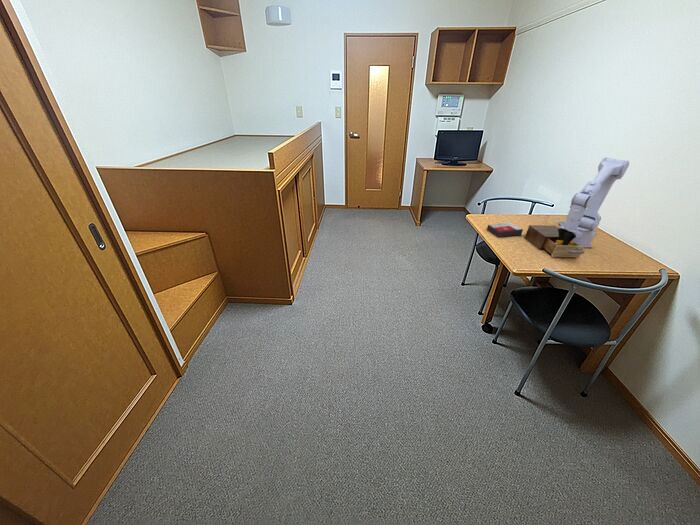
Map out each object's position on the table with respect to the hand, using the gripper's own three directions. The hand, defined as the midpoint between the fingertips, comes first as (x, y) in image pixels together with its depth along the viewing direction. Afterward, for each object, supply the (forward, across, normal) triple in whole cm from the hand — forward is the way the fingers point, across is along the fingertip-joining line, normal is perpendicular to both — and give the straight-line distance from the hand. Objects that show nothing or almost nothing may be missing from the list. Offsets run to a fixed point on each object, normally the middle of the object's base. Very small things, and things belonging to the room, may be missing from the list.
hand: (562, 244), depth 145 cm
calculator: (+6, -25, -16) cm, 30 cm away
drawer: (+4, +1, 0) cm, 4 cm away
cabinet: (+5, -11, 0) cm, 12 cm away
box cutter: (+1, 0, 0) cm, 1 cm away
